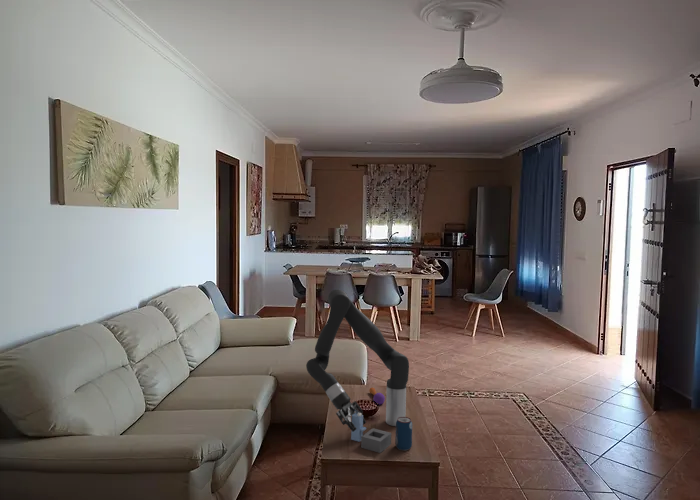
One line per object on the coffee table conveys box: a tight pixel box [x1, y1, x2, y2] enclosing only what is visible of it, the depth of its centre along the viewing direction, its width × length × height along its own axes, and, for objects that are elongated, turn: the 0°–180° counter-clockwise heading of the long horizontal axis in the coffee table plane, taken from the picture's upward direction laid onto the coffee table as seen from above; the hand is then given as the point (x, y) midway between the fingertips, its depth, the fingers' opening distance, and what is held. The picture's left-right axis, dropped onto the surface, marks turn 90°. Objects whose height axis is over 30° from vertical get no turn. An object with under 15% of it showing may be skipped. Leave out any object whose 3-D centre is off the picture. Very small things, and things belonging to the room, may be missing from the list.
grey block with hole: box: [360, 428, 392, 454], centre depth 206 cm, size 10×9×5 cm
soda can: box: [394, 416, 413, 451], centre depth 205 cm, size 7×7×12 cm
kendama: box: [369, 387, 386, 405], centre depth 263 cm, size 6×6×20 cm
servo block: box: [347, 413, 367, 442], centre depth 212 cm, size 8×3×12 cm, turn 59°
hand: (359, 427), depth 211 cm, fingers open, 8 cm apart
